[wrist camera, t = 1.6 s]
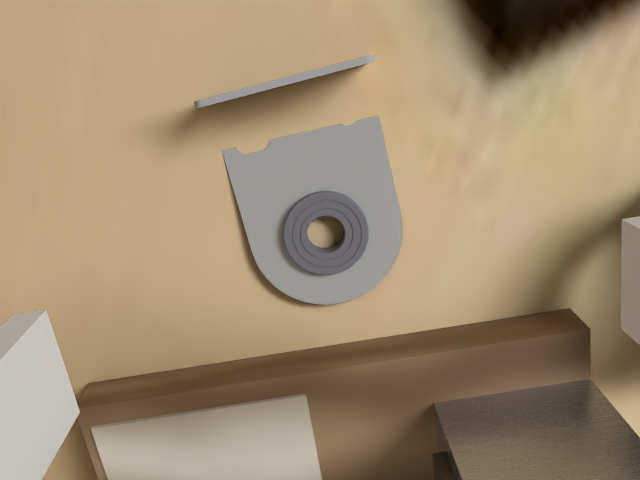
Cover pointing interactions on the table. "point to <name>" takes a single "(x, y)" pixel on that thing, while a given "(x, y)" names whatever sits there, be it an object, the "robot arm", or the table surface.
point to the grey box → (535, 436)
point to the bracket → (318, 202)
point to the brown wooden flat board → (321, 404)
